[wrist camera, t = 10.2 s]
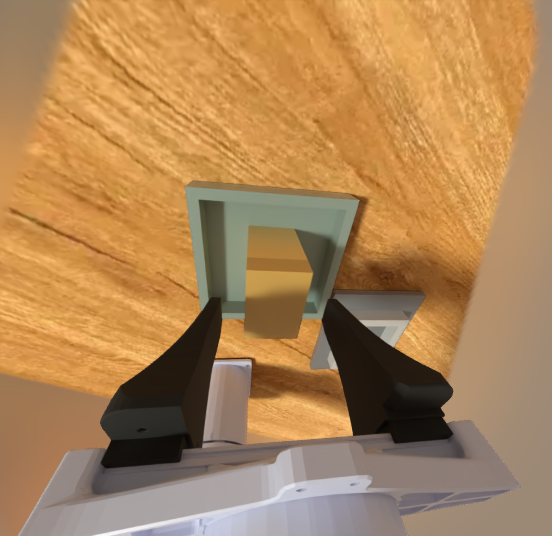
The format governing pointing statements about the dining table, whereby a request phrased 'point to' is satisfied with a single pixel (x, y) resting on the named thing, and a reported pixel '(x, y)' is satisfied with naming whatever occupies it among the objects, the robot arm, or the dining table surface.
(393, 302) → the board
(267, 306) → the yellow rectangular block
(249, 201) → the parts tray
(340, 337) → the robot arm
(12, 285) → the dining table surface
